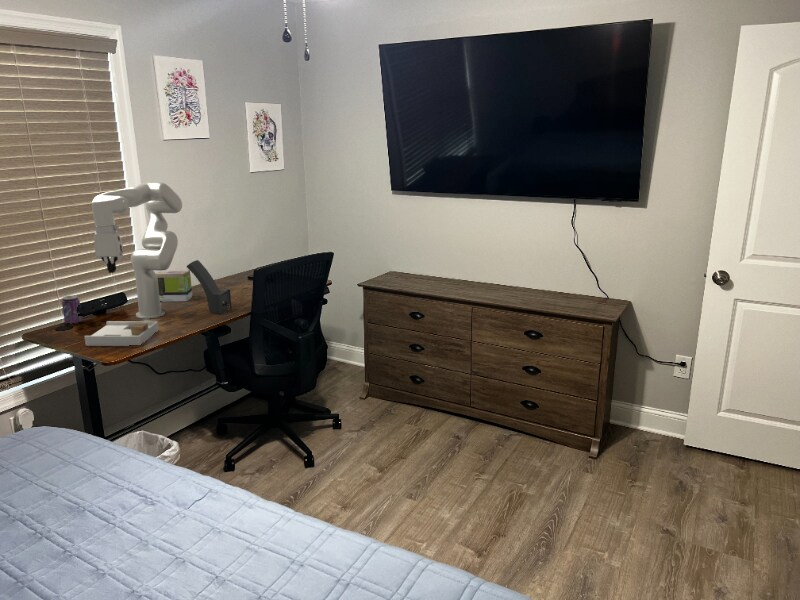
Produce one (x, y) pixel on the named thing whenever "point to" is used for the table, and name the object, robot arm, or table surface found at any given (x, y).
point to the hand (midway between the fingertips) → (112, 272)
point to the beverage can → (71, 309)
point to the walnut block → (138, 328)
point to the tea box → (174, 285)
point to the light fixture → (211, 289)
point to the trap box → (120, 334)
